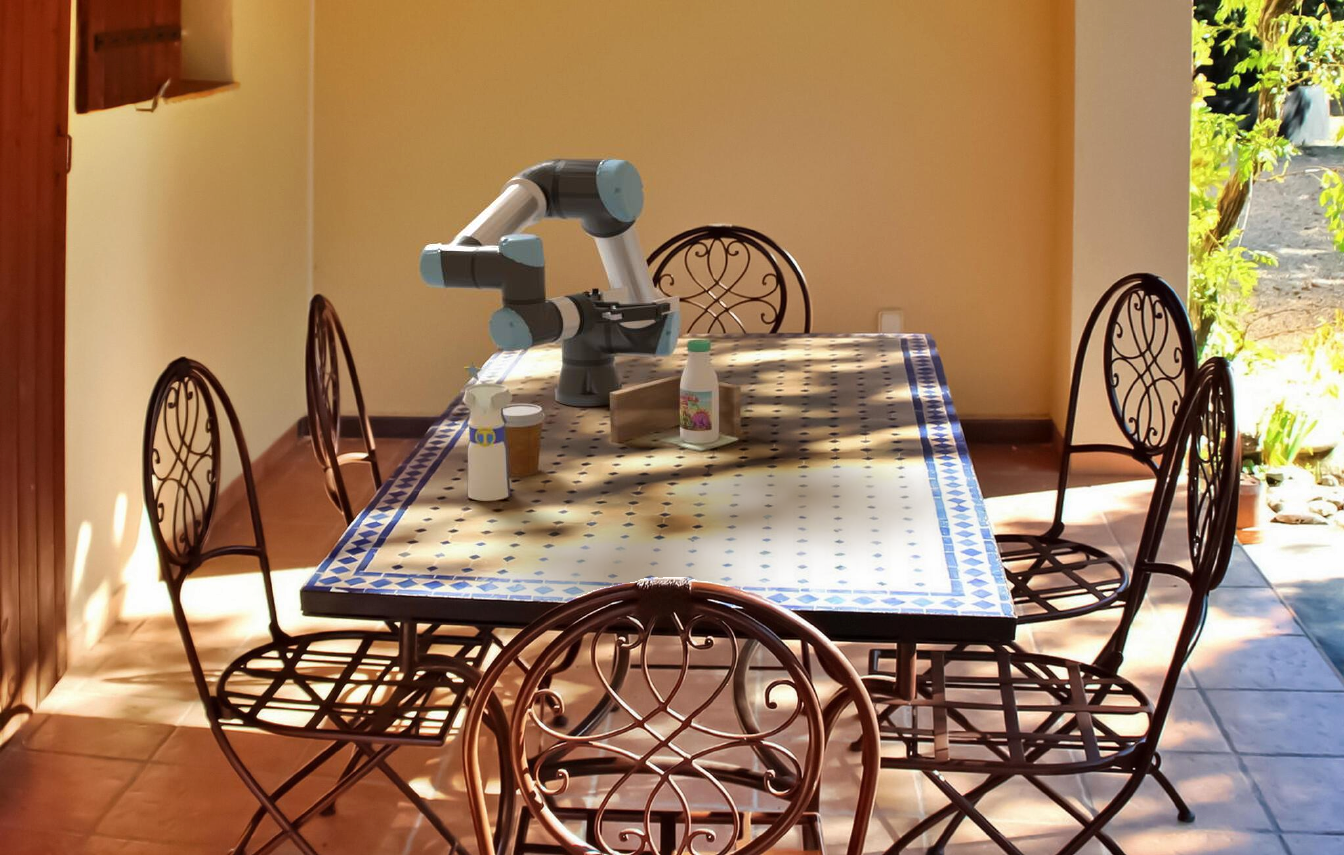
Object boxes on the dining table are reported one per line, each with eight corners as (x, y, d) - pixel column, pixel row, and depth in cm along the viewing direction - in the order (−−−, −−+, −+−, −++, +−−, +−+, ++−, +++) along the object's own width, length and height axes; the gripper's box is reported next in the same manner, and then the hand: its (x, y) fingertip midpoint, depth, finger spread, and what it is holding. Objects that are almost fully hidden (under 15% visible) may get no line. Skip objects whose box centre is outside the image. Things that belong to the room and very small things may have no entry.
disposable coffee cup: (496, 464, 273) (493, 403, 270) (546, 463, 274) (544, 402, 271) (494, 480, 264) (491, 417, 261) (546, 478, 265) (544, 415, 262)
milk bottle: (694, 432, 292) (693, 335, 286) (726, 437, 288) (726, 340, 282) (672, 441, 286) (671, 342, 280) (704, 447, 282) (704, 347, 276)
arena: (610, 441, 288) (609, 392, 285) (683, 419, 302) (682, 373, 299) (677, 459, 275) (676, 408, 272) (749, 436, 290) (749, 388, 287)
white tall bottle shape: (512, 501, 252) (508, 362, 246) (463, 501, 252) (458, 362, 246) (516, 487, 260) (512, 351, 254) (468, 487, 260) (464, 352, 253)
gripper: (523, 327, 265) (606, 309, 279) (616, 348, 248) (700, 327, 263) (521, 287, 263) (605, 271, 277) (615, 305, 246) (700, 286, 260)
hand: (652, 298), depth 270 cm, fingers open, 13 cm apart
